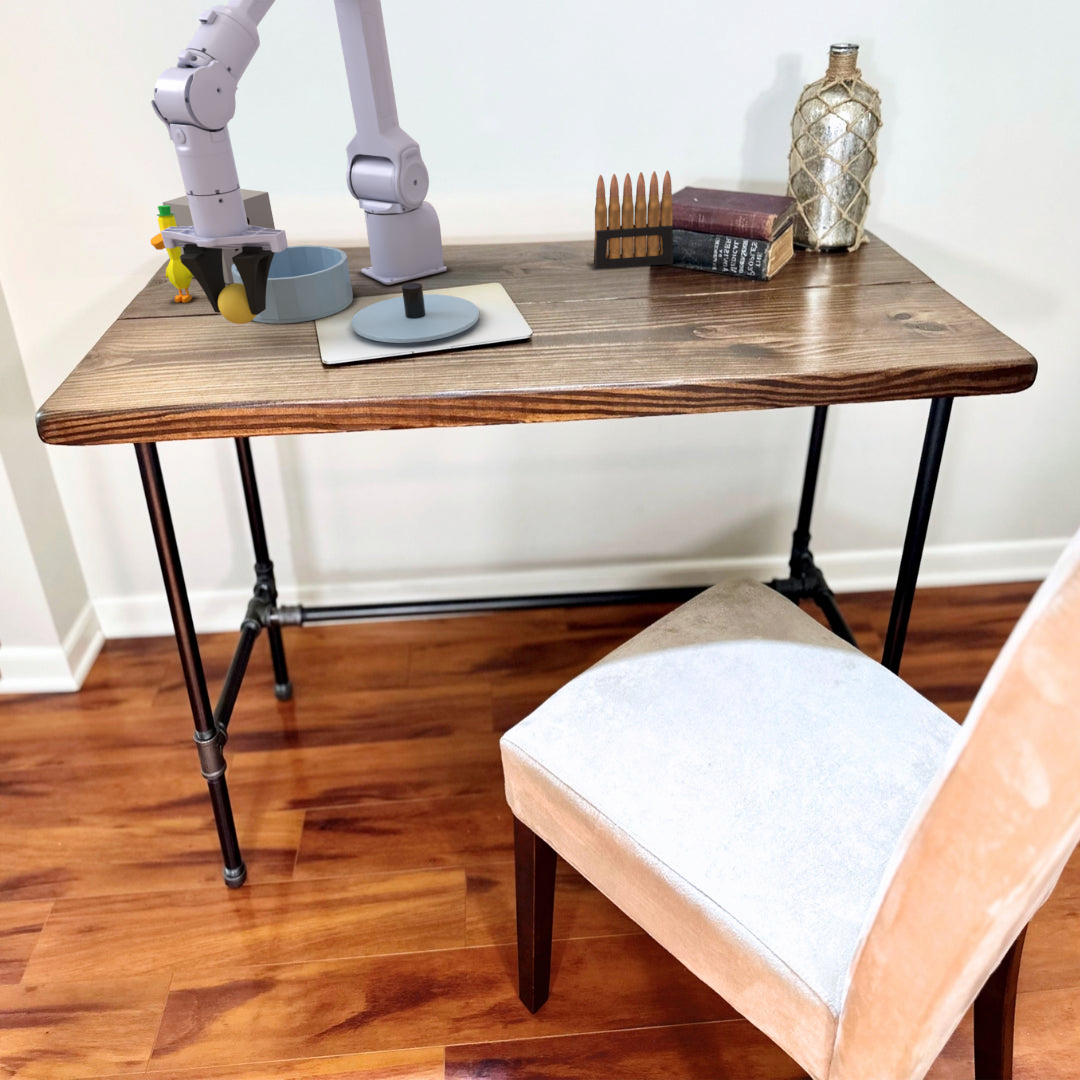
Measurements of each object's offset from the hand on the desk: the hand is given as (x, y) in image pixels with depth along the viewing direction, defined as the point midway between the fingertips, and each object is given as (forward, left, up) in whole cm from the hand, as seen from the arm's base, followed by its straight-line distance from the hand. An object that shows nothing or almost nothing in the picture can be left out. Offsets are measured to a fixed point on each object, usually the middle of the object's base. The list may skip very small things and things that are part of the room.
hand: (240, 310), depth 112 cm
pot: (-10, -8, -4) cm, 13 cm away
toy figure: (+1, -20, -4) cm, 20 cm away
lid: (-18, +9, -3) cm, 20 cm away
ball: (0, 0, +1) cm, 1 cm away
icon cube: (-9, -29, -4) cm, 31 cm away
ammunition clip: (-52, +9, -4) cm, 53 cm away
